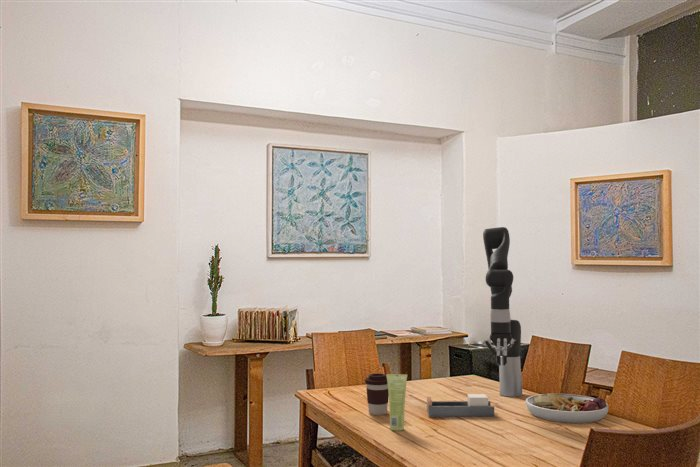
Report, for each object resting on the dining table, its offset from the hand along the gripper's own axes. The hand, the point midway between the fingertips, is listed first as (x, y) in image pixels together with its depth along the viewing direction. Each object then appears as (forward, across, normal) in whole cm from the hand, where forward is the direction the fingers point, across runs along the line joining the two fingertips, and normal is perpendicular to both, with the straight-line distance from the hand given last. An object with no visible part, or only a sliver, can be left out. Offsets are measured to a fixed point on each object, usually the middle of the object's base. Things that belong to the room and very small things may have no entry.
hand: (501, 365), depth 233 cm
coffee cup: (+19, +48, -2) cm, 52 cm away
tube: (+19, +42, +21) cm, 50 cm away
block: (+18, +10, 0) cm, 20 cm away
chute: (+19, +16, 0) cm, 25 cm away
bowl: (+20, -24, 0) cm, 31 cm away
